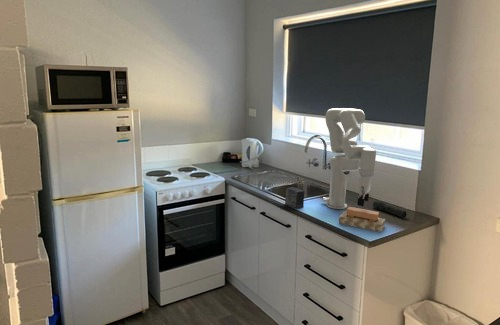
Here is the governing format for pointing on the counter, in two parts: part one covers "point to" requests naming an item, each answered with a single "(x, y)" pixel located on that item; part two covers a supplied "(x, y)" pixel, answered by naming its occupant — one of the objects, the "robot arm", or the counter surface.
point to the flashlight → (389, 209)
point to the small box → (294, 197)
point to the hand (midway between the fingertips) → (362, 203)
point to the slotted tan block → (362, 222)
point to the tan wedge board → (362, 213)
